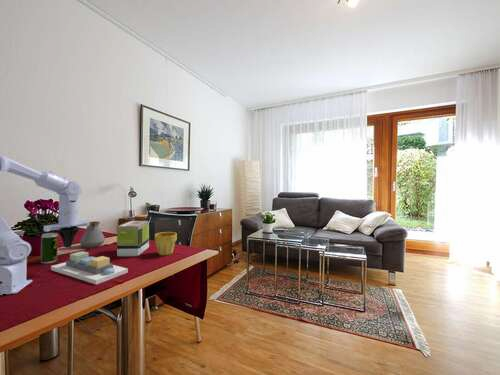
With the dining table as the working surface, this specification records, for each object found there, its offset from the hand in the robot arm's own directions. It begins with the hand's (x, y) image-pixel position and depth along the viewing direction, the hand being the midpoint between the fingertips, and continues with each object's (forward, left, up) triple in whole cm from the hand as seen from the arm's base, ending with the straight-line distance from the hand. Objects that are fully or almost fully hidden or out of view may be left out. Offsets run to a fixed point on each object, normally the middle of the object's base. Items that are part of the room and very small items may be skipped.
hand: (67, 246), depth 87 cm
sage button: (+2, -3, -6) cm, 7 cm away
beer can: (+14, +11, -10) cm, 20 cm away
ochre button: (-8, -13, -6) cm, 16 cm away
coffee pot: (+33, 0, -10) cm, 34 cm away
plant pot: (+13, -36, -10) cm, 39 cm away
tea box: (+20, -21, -10) cm, 31 cm away
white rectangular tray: (-3, -8, -9) cm, 13 cm away
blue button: (-3, -8, -8) cm, 11 cm away
